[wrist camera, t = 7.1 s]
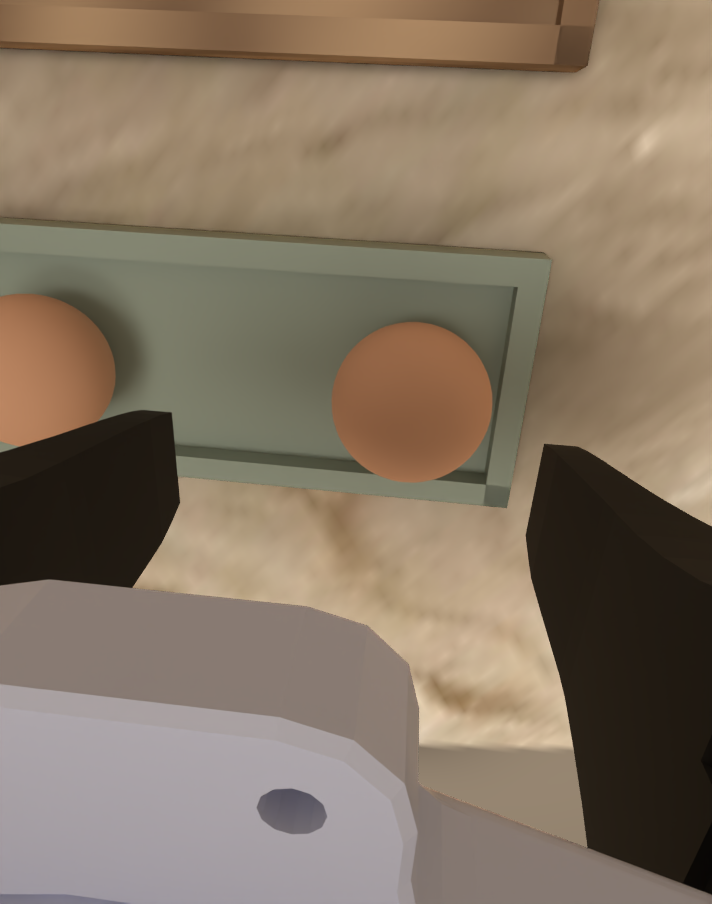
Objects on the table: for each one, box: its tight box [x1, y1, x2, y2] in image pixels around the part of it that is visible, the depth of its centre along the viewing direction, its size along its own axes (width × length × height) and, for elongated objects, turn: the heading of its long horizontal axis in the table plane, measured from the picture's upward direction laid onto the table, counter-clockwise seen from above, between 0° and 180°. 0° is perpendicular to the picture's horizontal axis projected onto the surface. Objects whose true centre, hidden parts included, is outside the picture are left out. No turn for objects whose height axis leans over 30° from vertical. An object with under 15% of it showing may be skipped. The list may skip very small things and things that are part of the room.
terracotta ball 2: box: [332, 322, 492, 483], centre depth 16 cm, size 4×4×4 cm
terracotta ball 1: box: [0, 294, 116, 446], centre depth 16 cm, size 4×4×4 cm
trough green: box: [0, 217, 552, 508], centre depth 18 cm, size 17×7×1 cm, turn 87°
